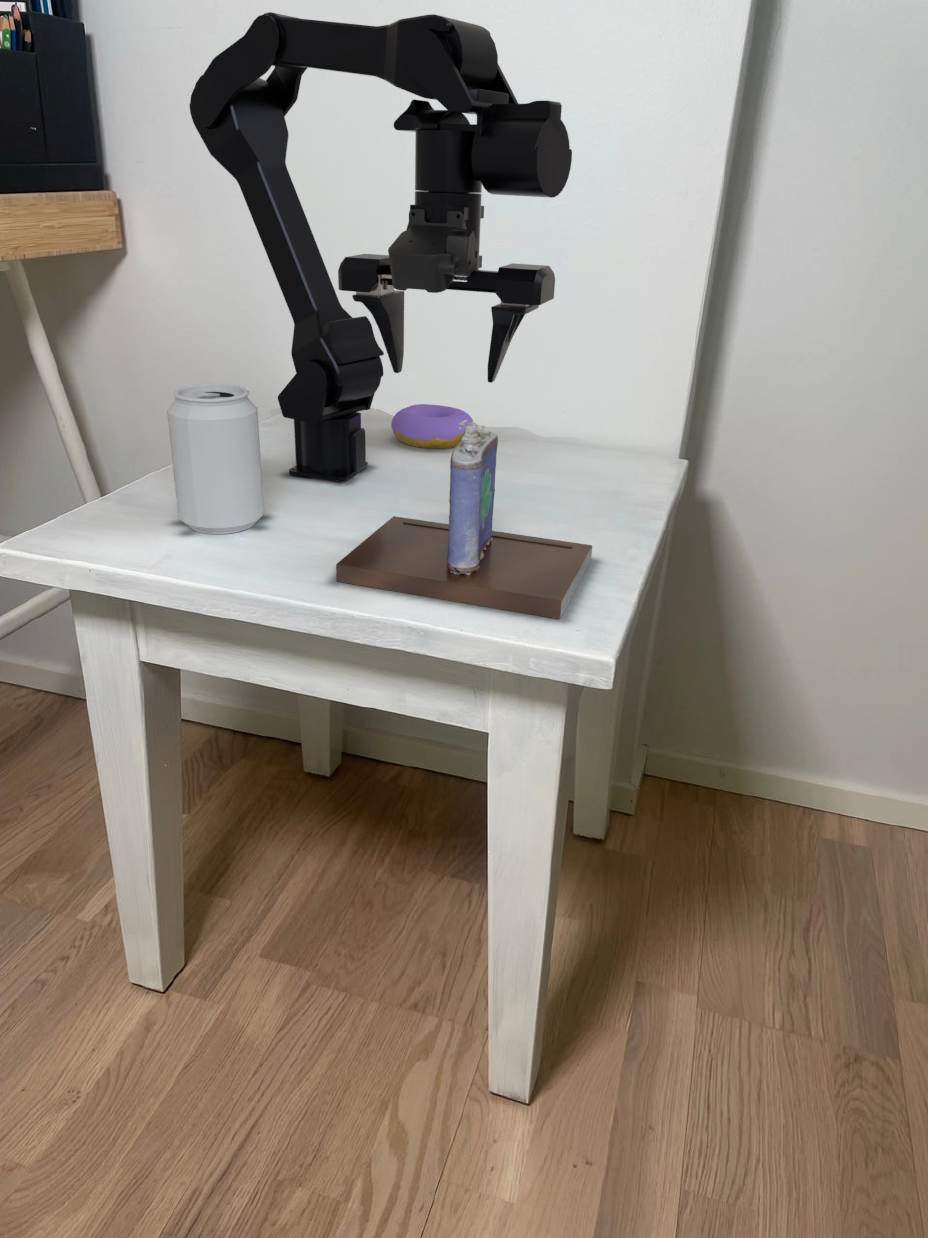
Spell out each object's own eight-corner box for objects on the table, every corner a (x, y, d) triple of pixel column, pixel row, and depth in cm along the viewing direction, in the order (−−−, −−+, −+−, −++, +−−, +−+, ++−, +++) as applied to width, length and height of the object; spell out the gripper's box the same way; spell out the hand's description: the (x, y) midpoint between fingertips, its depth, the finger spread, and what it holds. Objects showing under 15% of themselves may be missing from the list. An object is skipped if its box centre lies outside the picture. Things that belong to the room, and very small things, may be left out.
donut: (380, 444, 107) (382, 401, 105) (401, 441, 115) (404, 401, 114) (464, 452, 105) (467, 409, 104) (479, 448, 114) (483, 408, 112)
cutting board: (336, 581, 72) (335, 562, 72) (393, 531, 83) (393, 514, 82) (559, 619, 68) (561, 599, 67) (591, 561, 78) (592, 543, 77)
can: (279, 515, 85) (272, 385, 80) (236, 542, 79) (225, 402, 74) (209, 504, 87) (198, 376, 82) (161, 530, 81) (146, 392, 76)
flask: (475, 577, 70) (480, 439, 65) (437, 573, 71) (440, 436, 66) (496, 534, 78) (501, 409, 74) (462, 531, 79) (465, 406, 74)
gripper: (306, 188, 74) (314, 383, 81) (530, 198, 69) (518, 405, 76) (362, 187, 84) (364, 362, 91) (562, 196, 79) (549, 380, 86)
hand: (443, 376), depth 86 cm, fingers open, 9 cm apart
